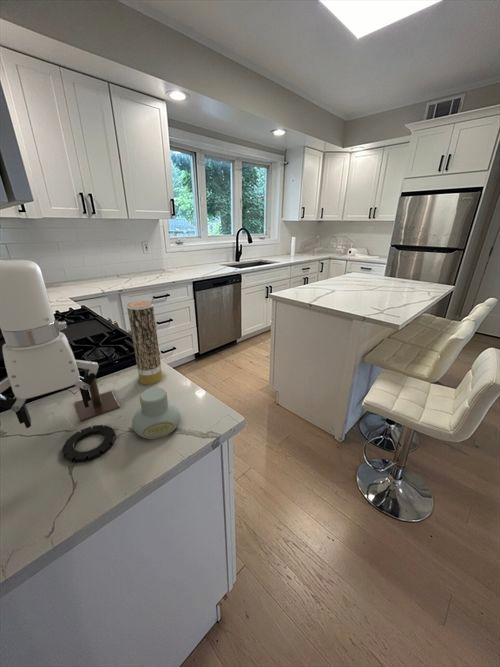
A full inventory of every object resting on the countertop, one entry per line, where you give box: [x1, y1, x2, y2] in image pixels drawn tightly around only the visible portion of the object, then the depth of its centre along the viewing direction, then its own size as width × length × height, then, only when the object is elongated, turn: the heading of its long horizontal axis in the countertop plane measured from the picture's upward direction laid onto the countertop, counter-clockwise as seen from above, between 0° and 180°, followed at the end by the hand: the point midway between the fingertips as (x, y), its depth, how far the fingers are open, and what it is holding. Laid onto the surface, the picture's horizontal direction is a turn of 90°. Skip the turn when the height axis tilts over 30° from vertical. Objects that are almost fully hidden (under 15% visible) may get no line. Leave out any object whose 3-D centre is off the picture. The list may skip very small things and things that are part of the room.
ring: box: [62, 424, 117, 464], centre depth 61 cm, size 10×10×2 cm
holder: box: [75, 369, 121, 423], centre depth 71 cm, size 9×9×12 cm
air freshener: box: [131, 387, 181, 440], centre depth 65 cm, size 11×8×10 cm
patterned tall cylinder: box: [126, 300, 163, 385], centre depth 82 cm, size 7×7×25 cm
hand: (58, 413), depth 55 cm, fingers open, 9 cm apart
